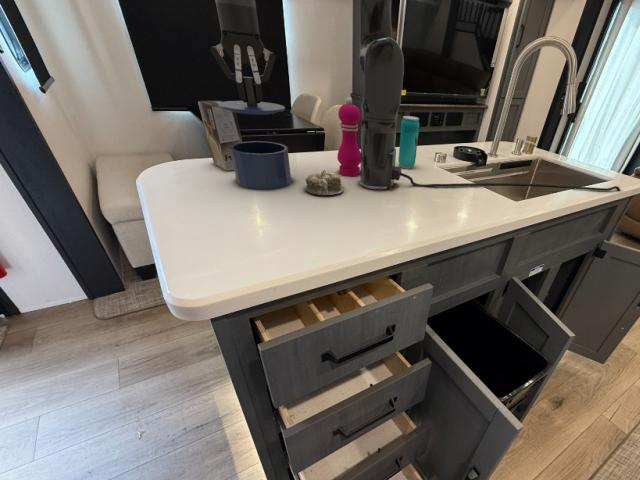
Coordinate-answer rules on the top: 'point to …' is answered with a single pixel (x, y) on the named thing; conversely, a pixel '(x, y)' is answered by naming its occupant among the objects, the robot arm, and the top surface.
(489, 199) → the top surface
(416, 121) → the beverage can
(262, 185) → the tin
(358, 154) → the pepper mill
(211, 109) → the coffee box
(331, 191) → the cake
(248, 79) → the lid
